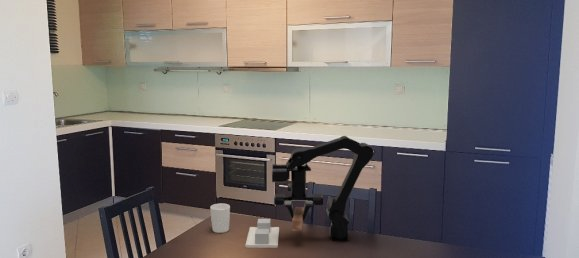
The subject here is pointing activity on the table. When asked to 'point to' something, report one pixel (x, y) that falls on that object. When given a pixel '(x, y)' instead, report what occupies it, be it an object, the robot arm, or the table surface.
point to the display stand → (263, 235)
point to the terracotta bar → (297, 219)
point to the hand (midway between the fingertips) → (298, 220)
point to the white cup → (220, 217)
